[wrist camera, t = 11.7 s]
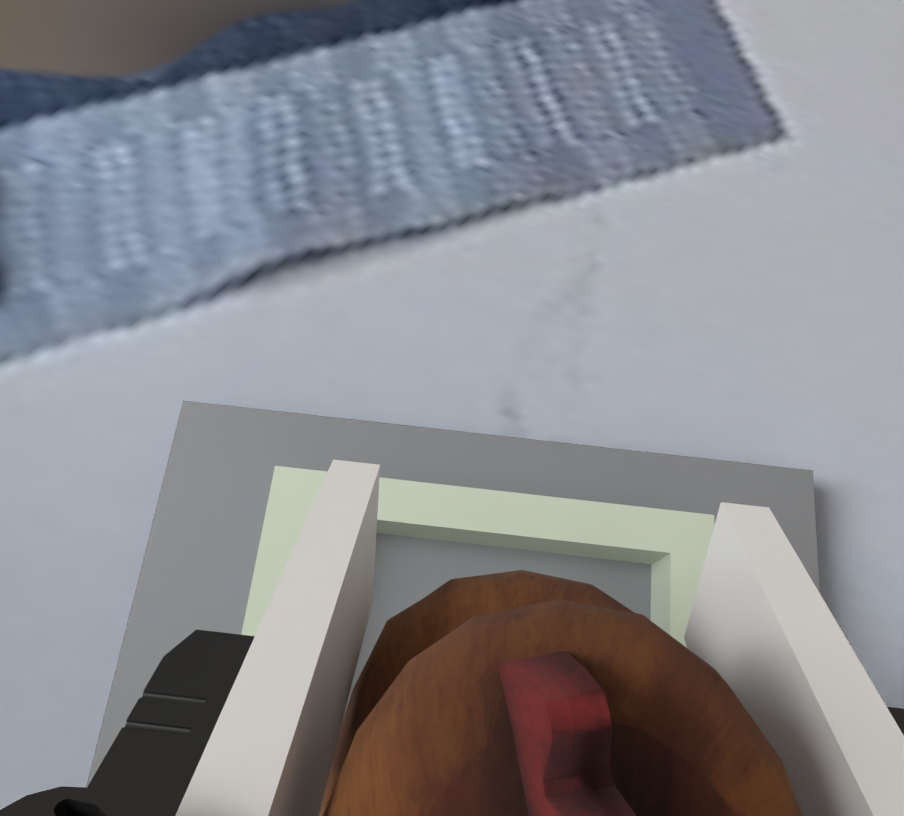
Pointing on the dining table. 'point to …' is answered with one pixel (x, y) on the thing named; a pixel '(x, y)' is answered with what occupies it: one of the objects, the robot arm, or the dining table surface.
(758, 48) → the dining table surface
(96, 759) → the jig plate
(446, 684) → the wooden figurine
